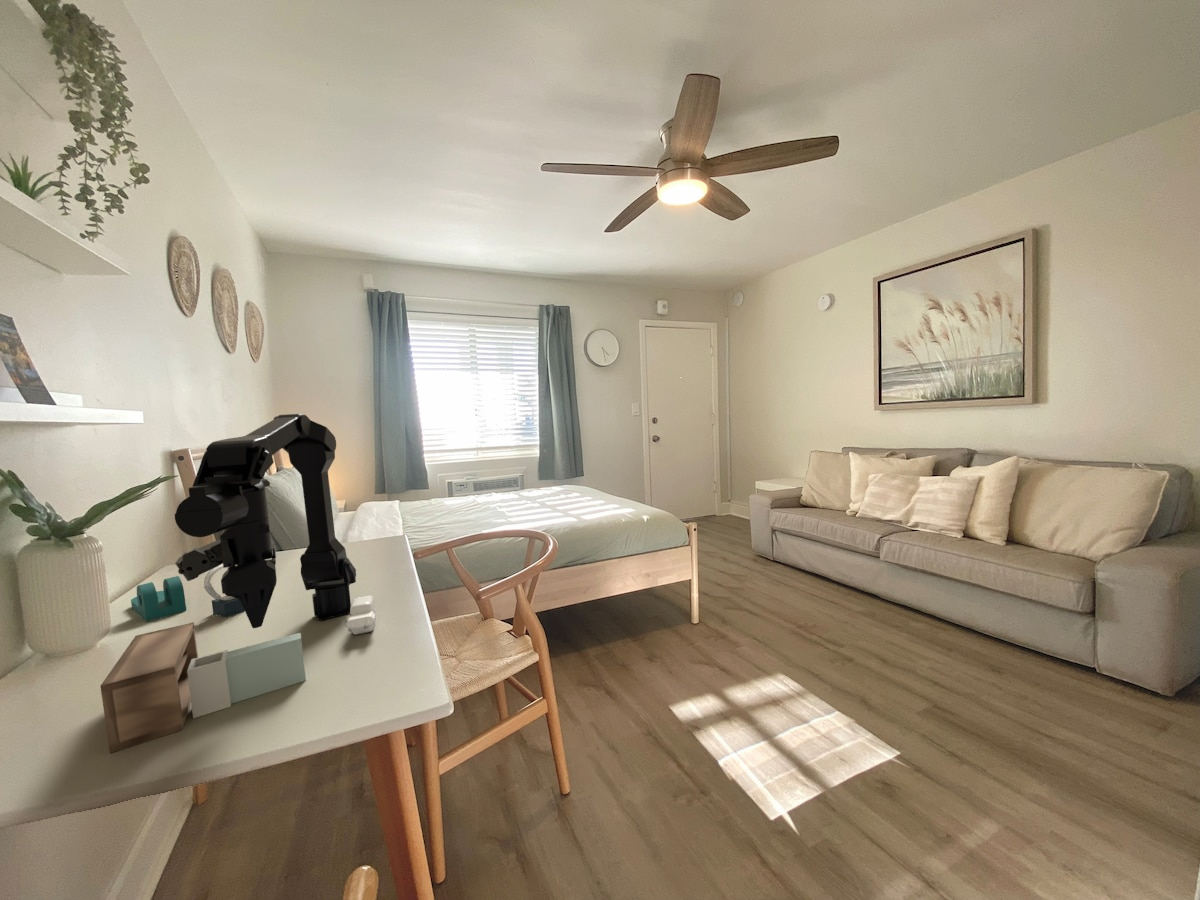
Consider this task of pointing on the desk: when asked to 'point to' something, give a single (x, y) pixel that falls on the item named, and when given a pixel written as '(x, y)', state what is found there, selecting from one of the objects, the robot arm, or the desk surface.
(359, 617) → the power adapter
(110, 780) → the desk surface
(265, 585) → the robot arm
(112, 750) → the cabinet
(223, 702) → the grey block with opening
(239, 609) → the watch
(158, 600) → the bracket
